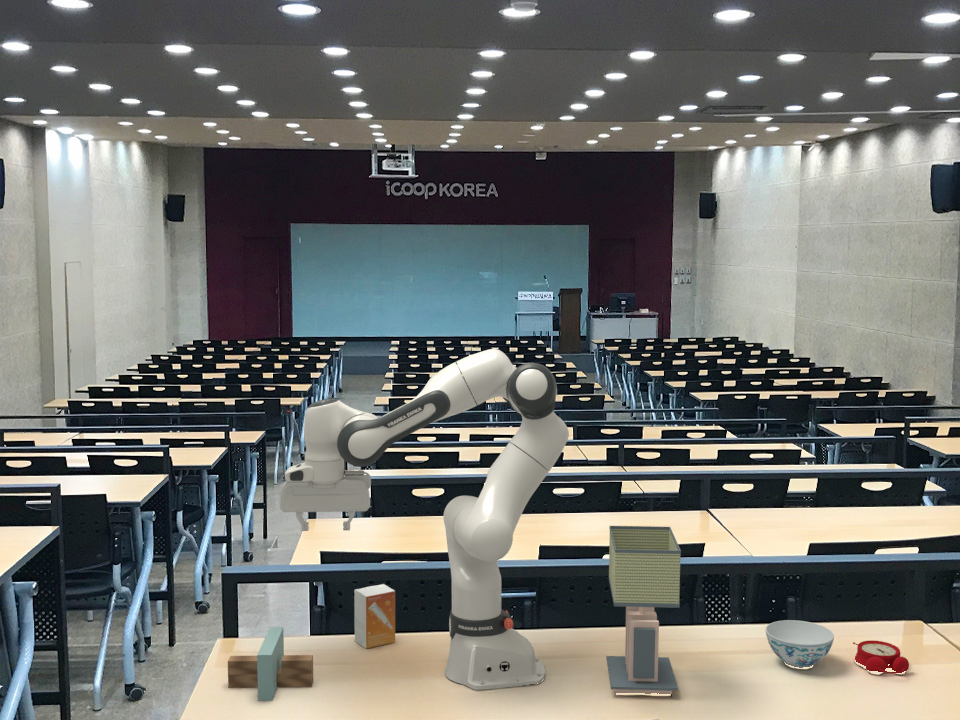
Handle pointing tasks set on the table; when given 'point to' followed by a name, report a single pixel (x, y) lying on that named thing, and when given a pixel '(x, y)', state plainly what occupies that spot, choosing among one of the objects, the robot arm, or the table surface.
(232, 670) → the walnut notched block
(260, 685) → the teal plate
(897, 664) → the alarm clock
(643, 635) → the desk lamp
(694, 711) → the table surface
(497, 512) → the robot arm
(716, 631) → the table surface
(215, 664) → the table surface
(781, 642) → the chinaware
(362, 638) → the small box
